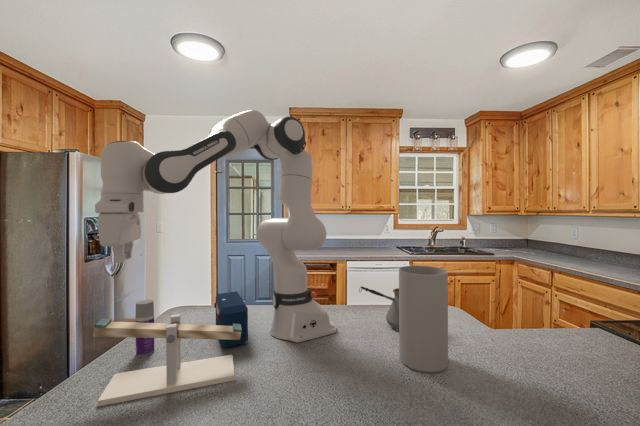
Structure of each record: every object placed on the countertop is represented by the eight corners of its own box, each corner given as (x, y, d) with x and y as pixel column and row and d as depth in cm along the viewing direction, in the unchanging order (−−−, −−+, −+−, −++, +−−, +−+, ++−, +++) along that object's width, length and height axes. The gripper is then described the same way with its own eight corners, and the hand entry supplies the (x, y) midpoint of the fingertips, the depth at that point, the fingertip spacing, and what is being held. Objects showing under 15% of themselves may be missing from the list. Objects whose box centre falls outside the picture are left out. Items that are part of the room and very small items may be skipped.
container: (145, 357, 83) (145, 304, 83) (131, 356, 84) (131, 303, 83) (158, 349, 87) (157, 299, 87) (144, 348, 88) (144, 299, 88)
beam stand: (232, 358, 82) (231, 306, 81) (234, 380, 71) (234, 320, 71) (115, 378, 72) (114, 319, 72) (97, 406, 62) (96, 338, 62)
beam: (238, 334, 79) (240, 323, 79) (239, 341, 75) (241, 329, 75) (99, 331, 68) (102, 318, 69) (91, 338, 64) (94, 325, 64)
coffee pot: (410, 320, 109) (410, 280, 109) (425, 332, 98) (425, 288, 98) (355, 323, 107) (355, 282, 107) (364, 336, 95) (363, 291, 95)
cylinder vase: (413, 346, 88) (412, 264, 88) (455, 361, 79) (455, 269, 79) (390, 361, 79) (390, 270, 79) (435, 380, 70) (435, 277, 70)
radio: (213, 326, 105) (213, 271, 105) (238, 322, 108) (238, 268, 108) (219, 351, 86) (218, 284, 86) (249, 346, 89) (248, 281, 89)
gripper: (121, 206, 82) (122, 255, 82) (91, 204, 63) (92, 269, 63) (146, 206, 84) (147, 254, 84) (125, 204, 65) (126, 266, 65)
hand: (123, 260), depth 73 cm, fingers open, 4 cm apart
